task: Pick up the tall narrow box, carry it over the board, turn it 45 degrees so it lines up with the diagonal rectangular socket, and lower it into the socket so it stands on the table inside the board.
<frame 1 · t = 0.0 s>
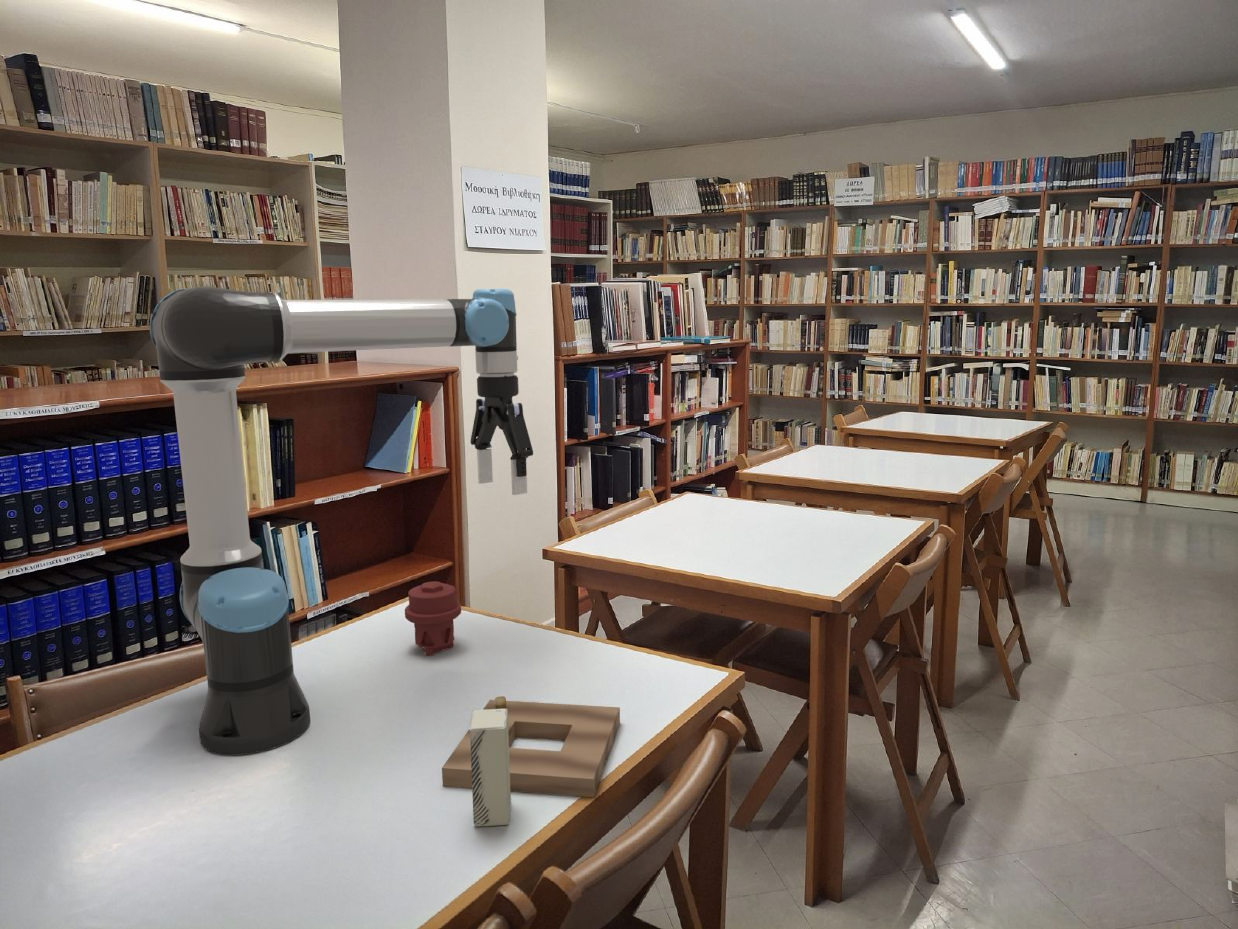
hand: (502, 488, 161), 28 cm above the table, fingers open, 13 cm apart
socket board: (537, 752, 119), on the table
box: (493, 817, 104), on the table
mechanical component: (435, 650, 157), on the table
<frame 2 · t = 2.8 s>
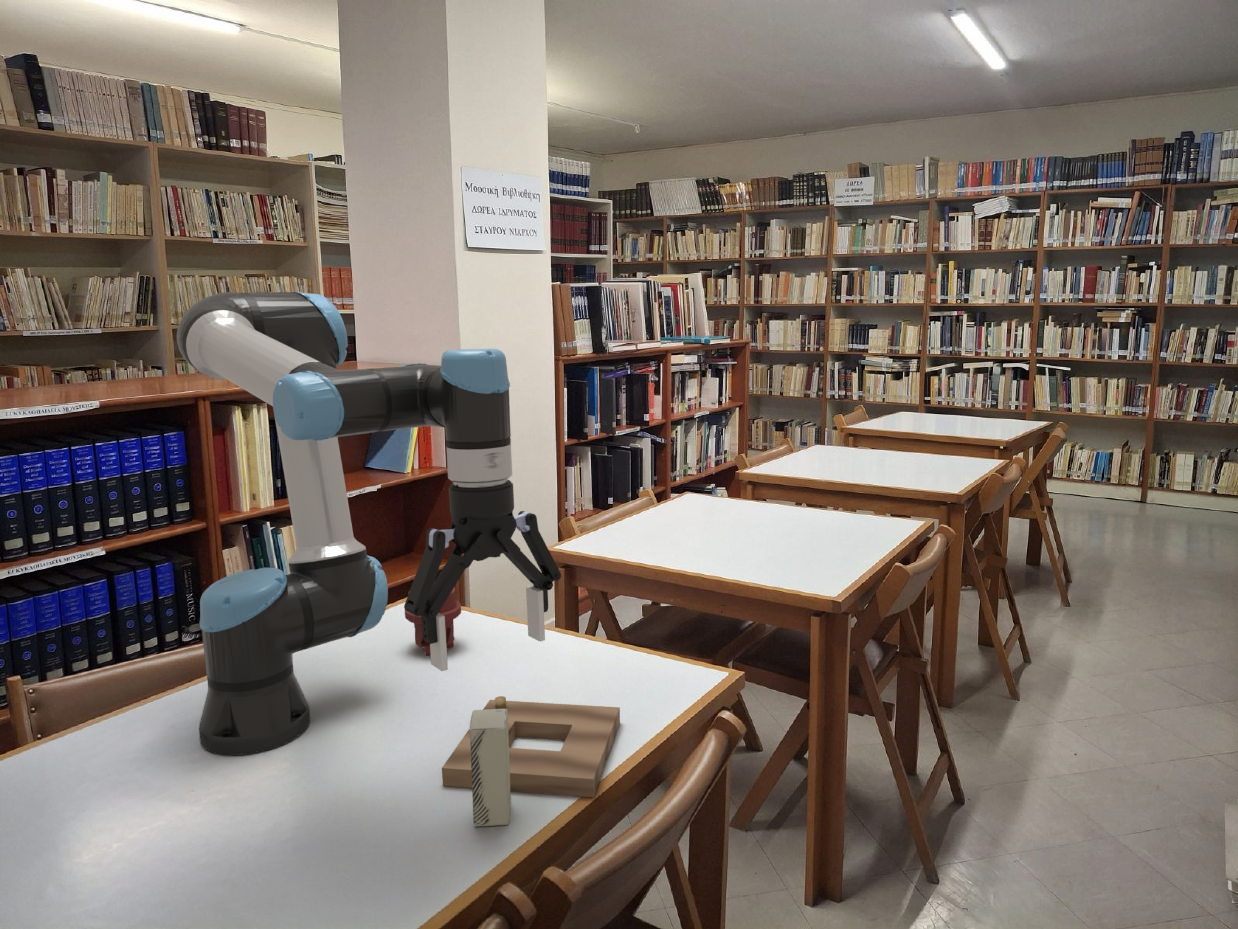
hand: (490, 652, 104), 20 cm above the table, fingers open, 13 cm apart
nothing on the table moved.
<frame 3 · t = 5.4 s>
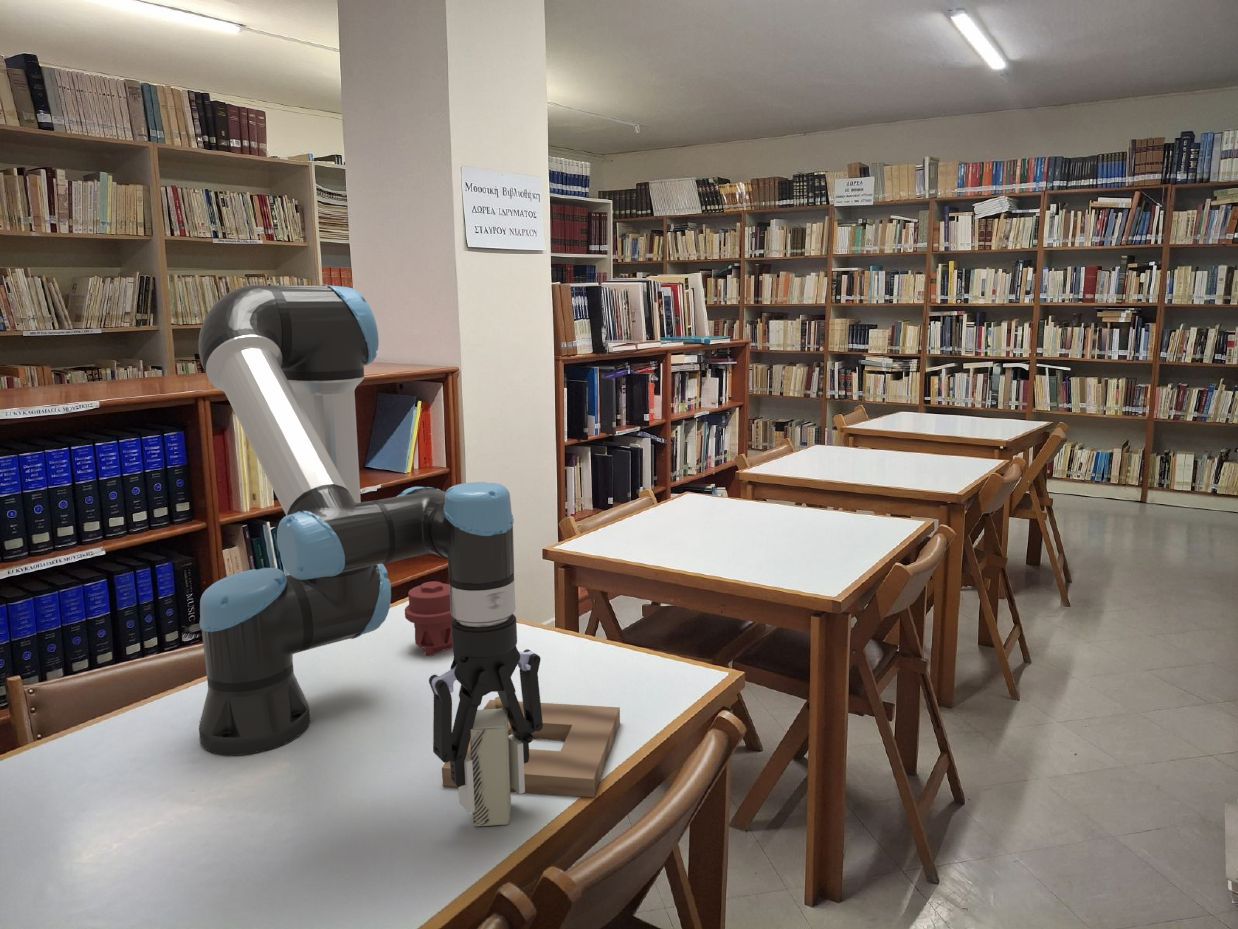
hand: (492, 797, 104), 2 cm above the table, fingers closed on box, 6 cm apart
box: (493, 817, 104), on the table, touching gripper
everything else where it was.
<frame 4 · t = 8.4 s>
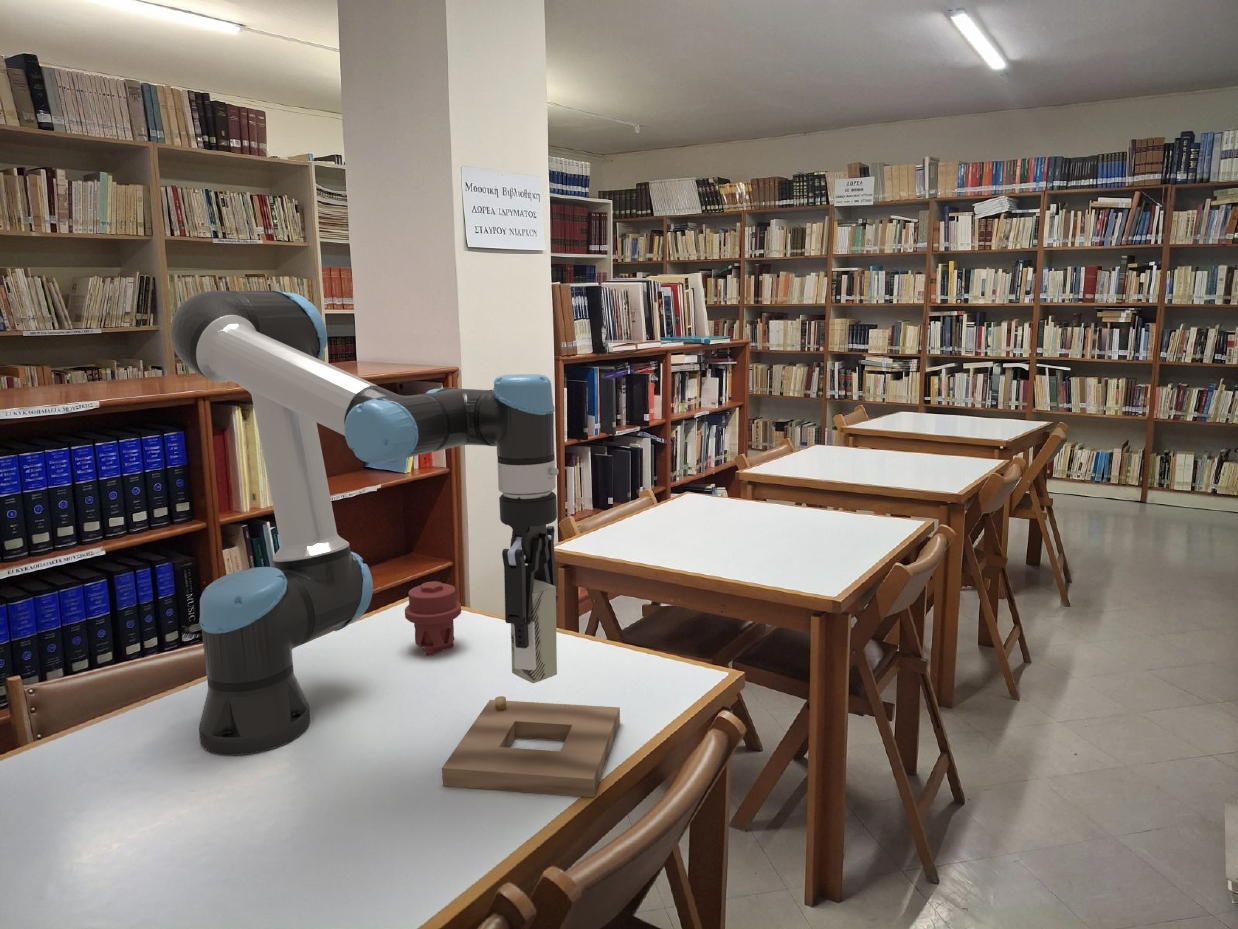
hand: (534, 658, 117), 14 cm above the table, fingers closed on box, 6 cm apart
box: (535, 676, 117), point 11 cm above the table, touching gripper
everything else where it was.
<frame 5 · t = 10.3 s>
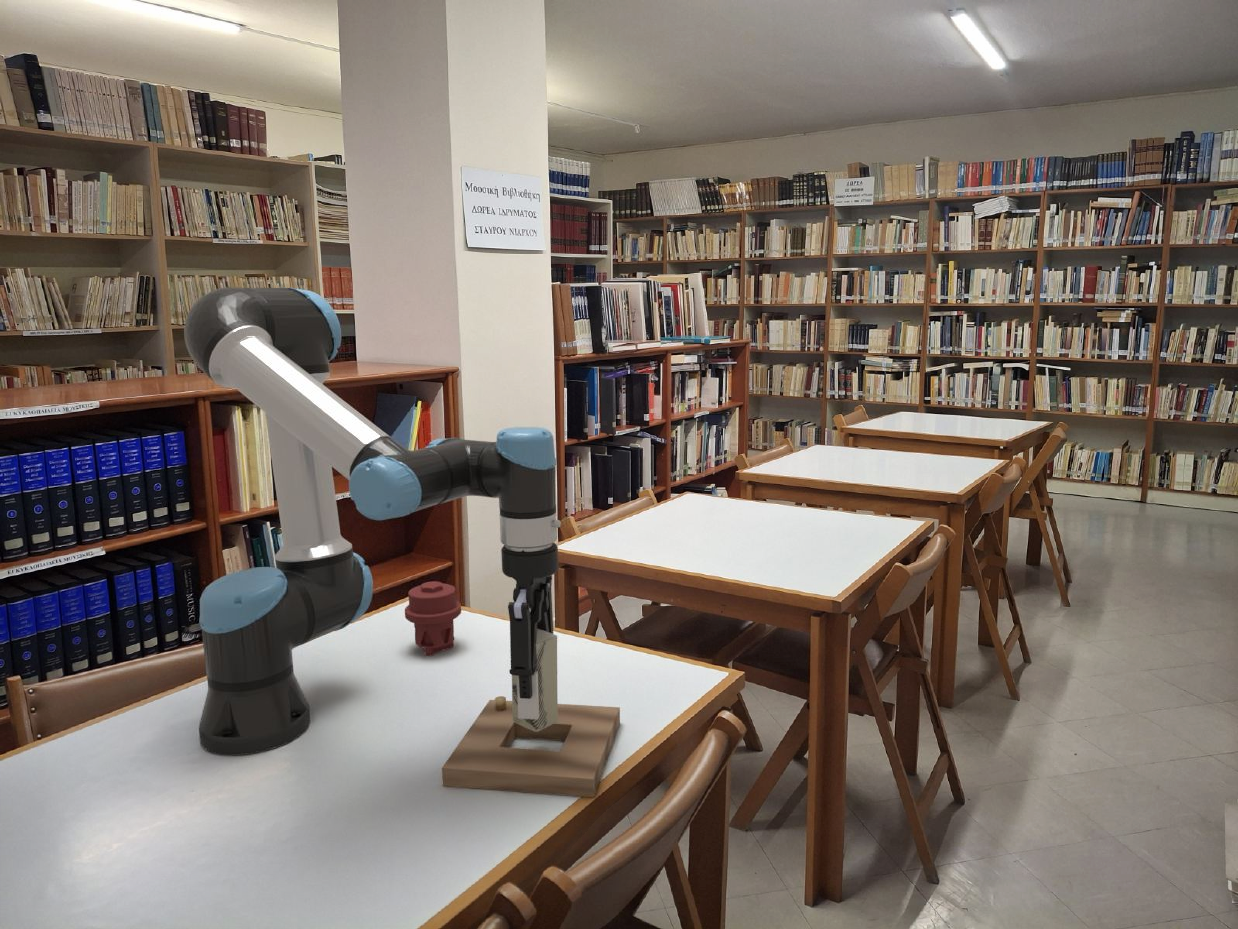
hand: (535, 706, 118), 7 cm above the table, fingers closed on box, 6 cm apart
box: (536, 724, 119), point 4 cm above the table, touching gripper
everything else where it was.
when the fingers open (4 cm above the table, at t = 11.6 s): box drops 2 cm, resting in socket board.
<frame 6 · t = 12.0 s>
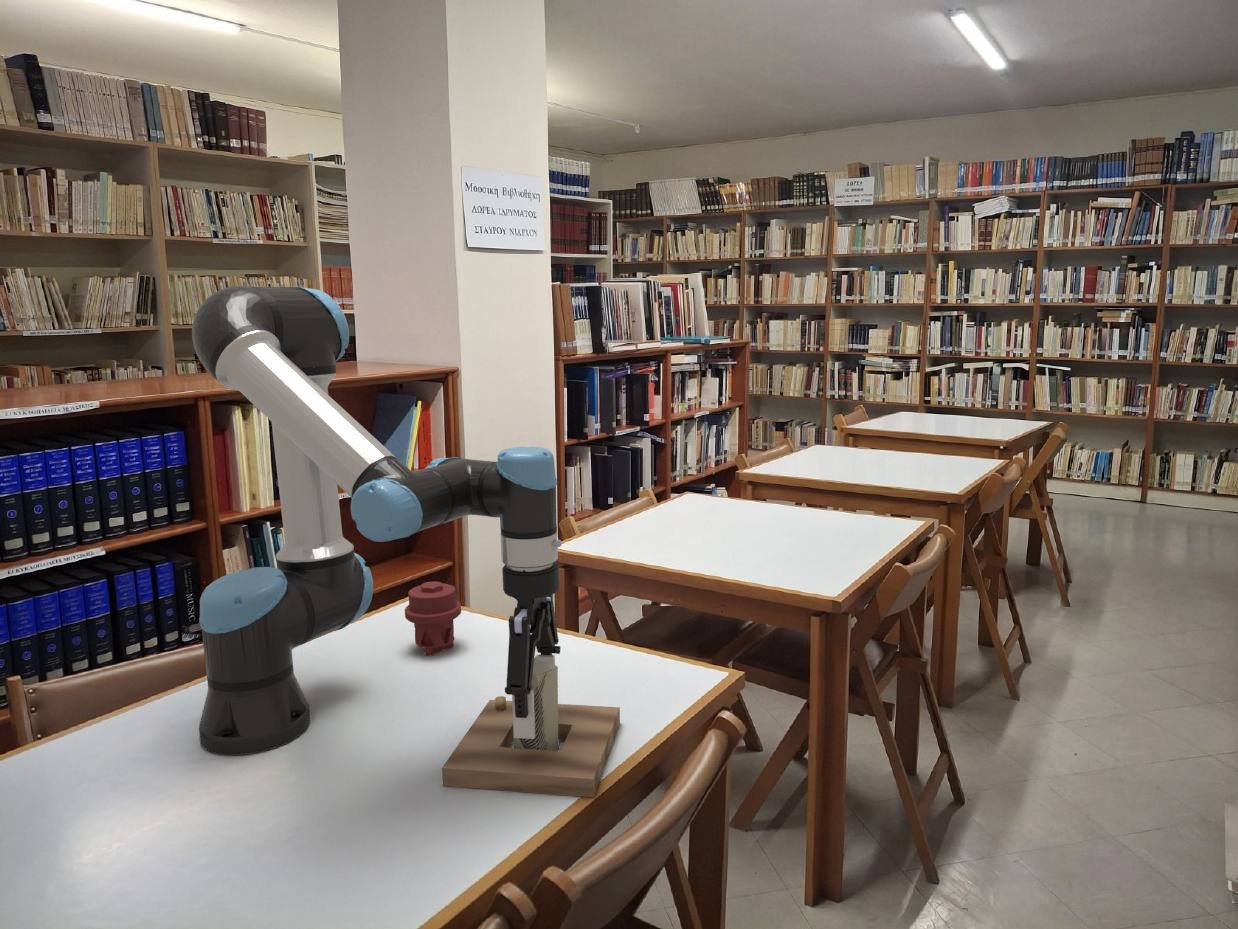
hand: (536, 717, 118), 5 cm above the table, fingers open, 11 cm apart
box: (537, 753, 119), resting in socket board
everything else where it was.
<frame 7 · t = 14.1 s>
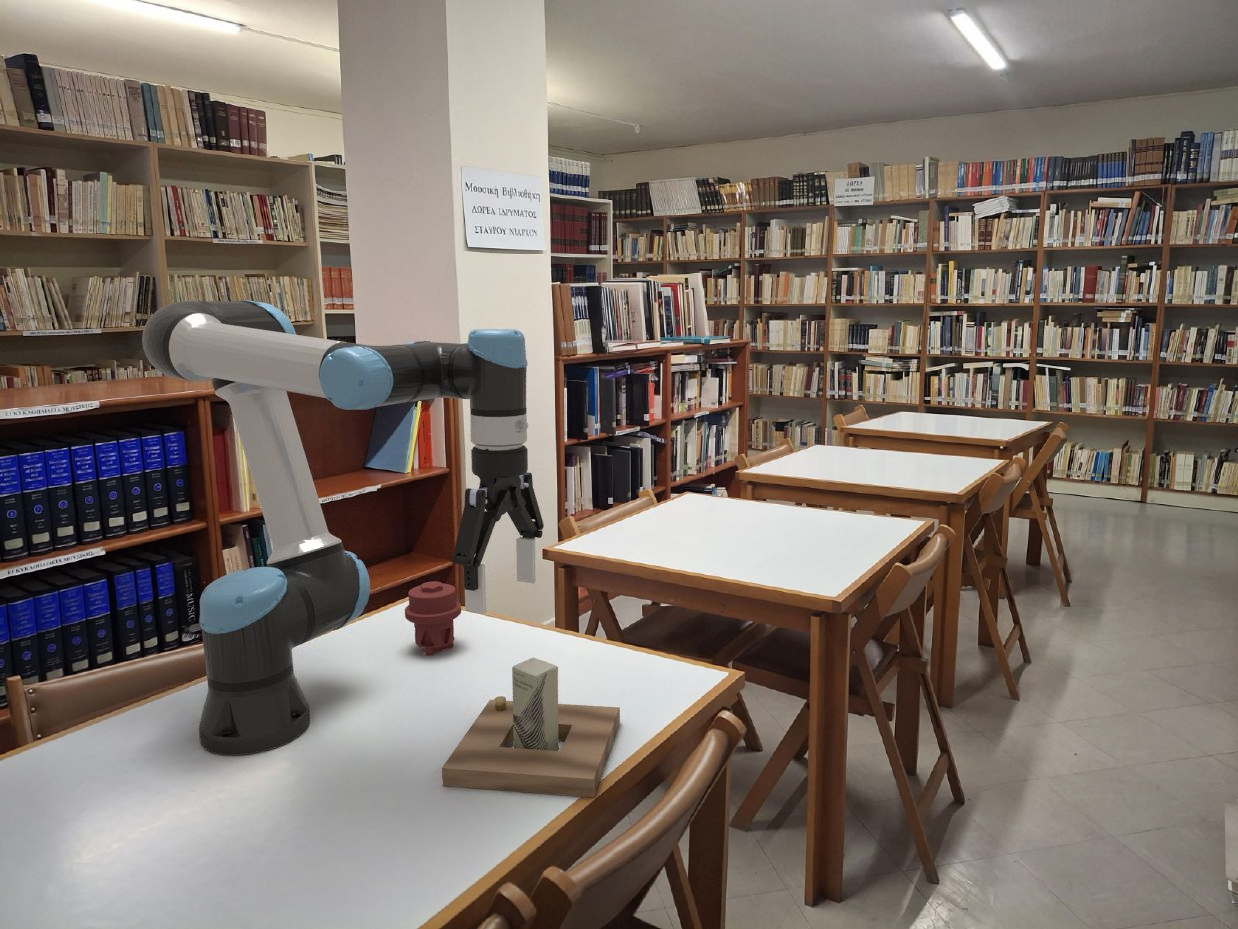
hand: (502, 596, 119), 22 cm above the table, fingers open, 13 cm apart
nothing on the table moved.
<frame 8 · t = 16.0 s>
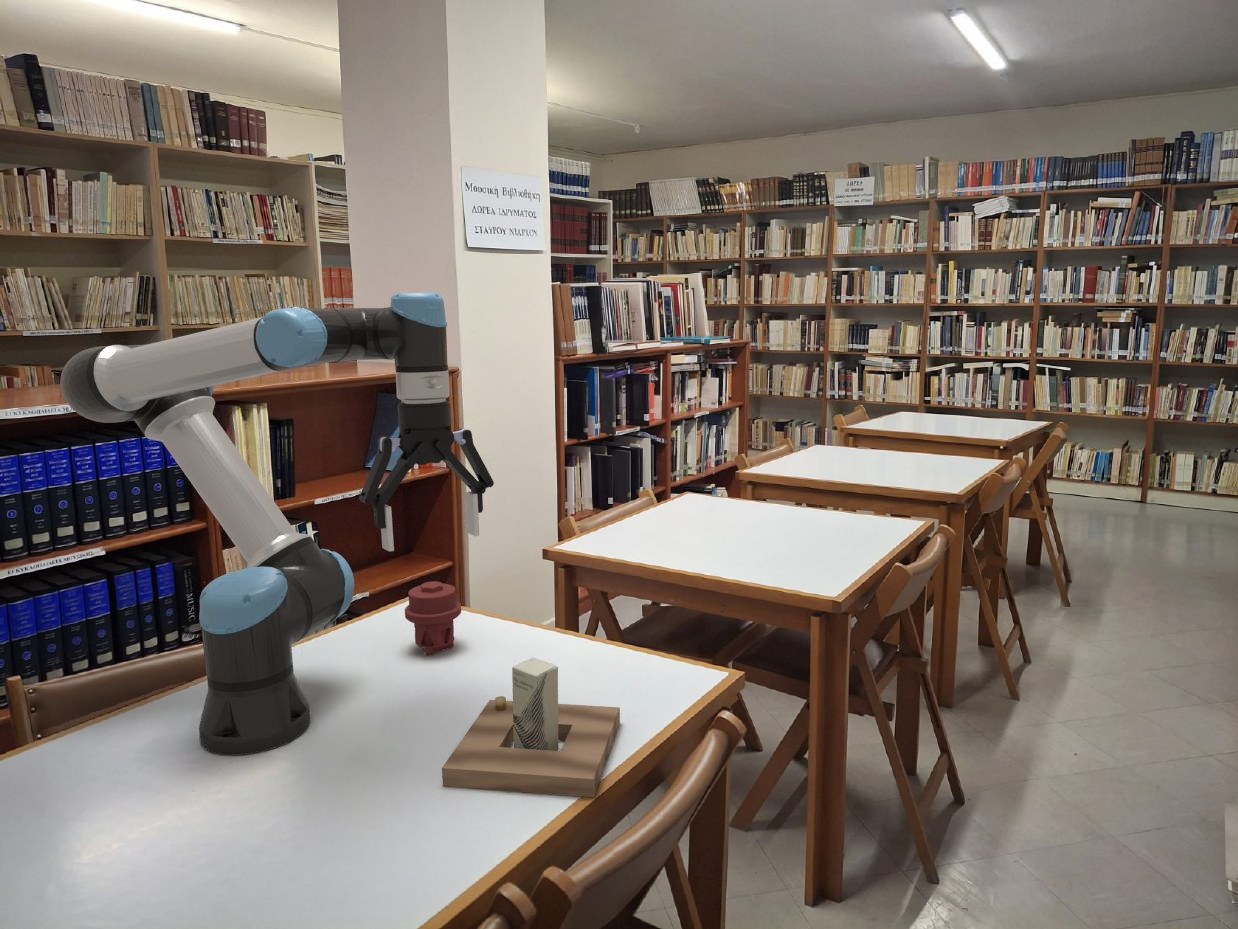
hand: (431, 541, 129), 27 cm above the table, fingers open, 13 cm apart
nothing on the table moved.
at the end: box 0.0 cm from the socket board (horizontally); box touching table; box tilted 0° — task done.
